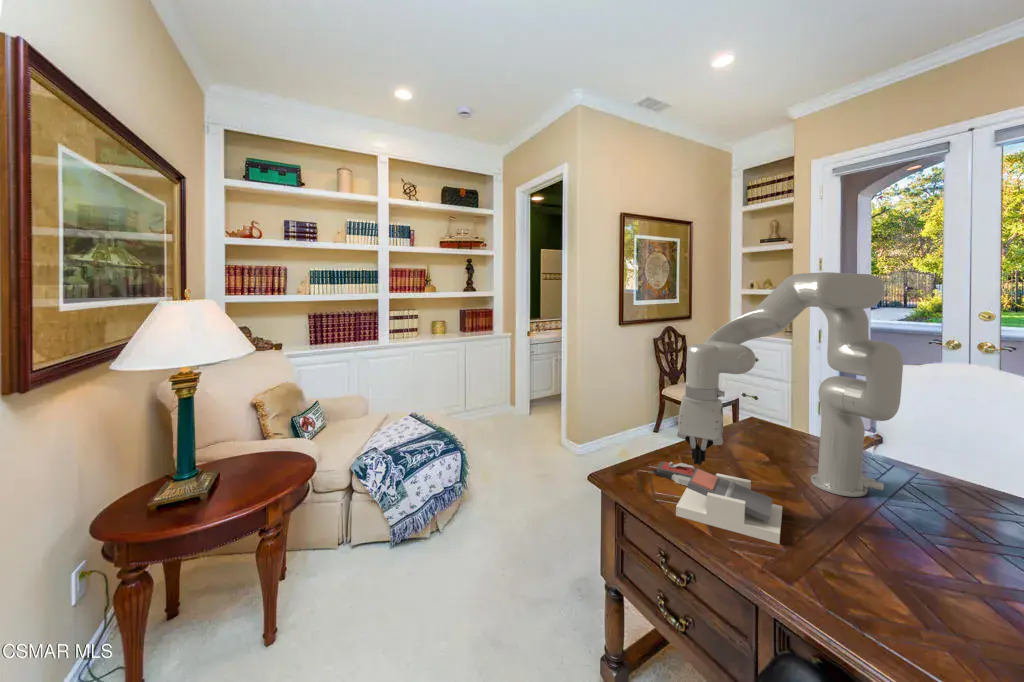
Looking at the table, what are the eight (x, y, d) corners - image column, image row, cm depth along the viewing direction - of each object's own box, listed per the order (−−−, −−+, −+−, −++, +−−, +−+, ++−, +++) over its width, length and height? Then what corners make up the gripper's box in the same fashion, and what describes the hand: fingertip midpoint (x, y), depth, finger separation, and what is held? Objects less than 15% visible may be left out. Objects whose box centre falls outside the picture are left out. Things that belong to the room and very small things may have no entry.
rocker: (770, 504, 102) (773, 497, 102) (767, 523, 94) (770, 515, 94) (695, 473, 112) (697, 467, 111) (686, 488, 104) (688, 481, 103)
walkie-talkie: (650, 478, 126) (722, 496, 113) (650, 464, 125) (722, 481, 113) (659, 468, 133) (728, 484, 120) (659, 455, 132) (729, 470, 120)
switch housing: (781, 515, 103) (783, 487, 102) (779, 544, 91) (781, 512, 90) (688, 492, 115) (689, 467, 114) (675, 515, 104) (676, 487, 103)
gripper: (736, 394, 103) (733, 464, 105) (674, 386, 111) (672, 452, 113) (732, 400, 96) (728, 475, 98) (667, 392, 105) (664, 461, 107)
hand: (698, 462), depth 106 cm, fingers closed
